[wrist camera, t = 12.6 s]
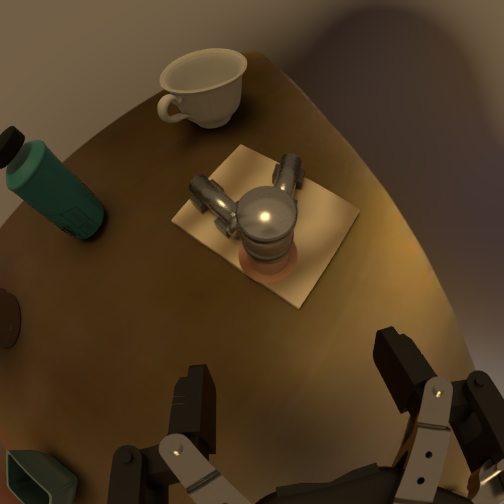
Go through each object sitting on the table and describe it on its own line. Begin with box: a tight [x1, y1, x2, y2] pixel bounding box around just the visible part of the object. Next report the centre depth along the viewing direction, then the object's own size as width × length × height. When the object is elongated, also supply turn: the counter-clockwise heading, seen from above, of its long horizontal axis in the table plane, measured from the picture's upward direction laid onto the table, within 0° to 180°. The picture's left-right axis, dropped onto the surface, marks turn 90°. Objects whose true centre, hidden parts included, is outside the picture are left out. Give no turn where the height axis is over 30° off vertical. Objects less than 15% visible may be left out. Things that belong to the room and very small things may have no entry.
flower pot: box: [6, 450, 78, 504], centre depth 17 cm, size 9×9×9 cm
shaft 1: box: [189, 174, 241, 238], centre depth 30 cm, size 8×4×4 cm, turn 44°
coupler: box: [235, 186, 298, 275], centre depth 25 cm, size 5×5×10 cm
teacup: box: [158, 48, 247, 129], centre depth 34 cm, size 12×15×10 cm
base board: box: [171, 145, 360, 309], centre depth 32 cm, size 18×14×1 cm
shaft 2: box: [272, 154, 305, 206], centre depth 31 cm, size 8×4×4 cm, turn 164°
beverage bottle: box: [0, 126, 104, 239], centre depth 25 cm, size 6×7×20 cm
